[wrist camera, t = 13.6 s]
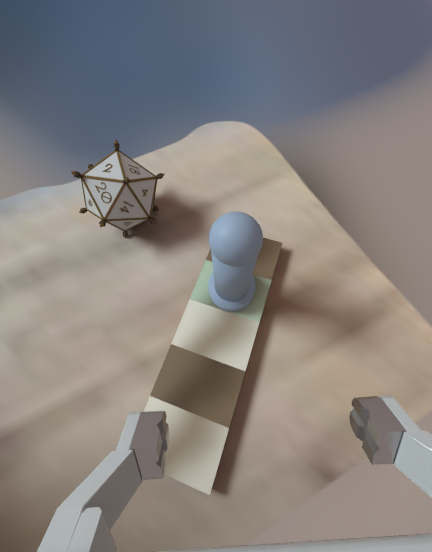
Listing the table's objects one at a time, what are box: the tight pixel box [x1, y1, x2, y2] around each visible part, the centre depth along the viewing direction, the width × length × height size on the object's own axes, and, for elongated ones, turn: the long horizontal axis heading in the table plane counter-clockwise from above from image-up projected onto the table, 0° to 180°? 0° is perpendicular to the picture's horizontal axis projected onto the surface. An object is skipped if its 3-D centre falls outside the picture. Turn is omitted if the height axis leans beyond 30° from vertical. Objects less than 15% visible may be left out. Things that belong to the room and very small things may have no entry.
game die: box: [72, 140, 164, 238], centre depth 26 cm, size 9×8×10 cm
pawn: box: [208, 212, 263, 312], centre depth 19 cm, size 4×4×11 cm
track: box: [144, 238, 282, 495], centre depth 23 cm, size 7×22×1 cm, turn 160°
